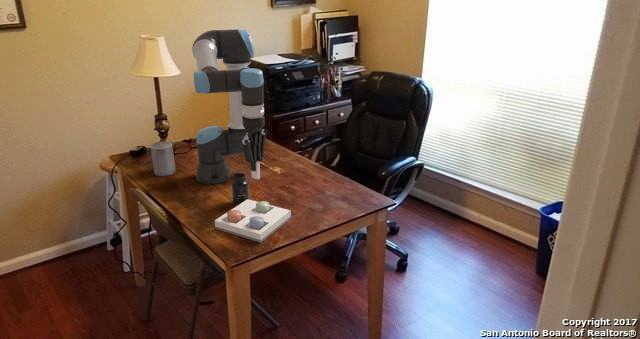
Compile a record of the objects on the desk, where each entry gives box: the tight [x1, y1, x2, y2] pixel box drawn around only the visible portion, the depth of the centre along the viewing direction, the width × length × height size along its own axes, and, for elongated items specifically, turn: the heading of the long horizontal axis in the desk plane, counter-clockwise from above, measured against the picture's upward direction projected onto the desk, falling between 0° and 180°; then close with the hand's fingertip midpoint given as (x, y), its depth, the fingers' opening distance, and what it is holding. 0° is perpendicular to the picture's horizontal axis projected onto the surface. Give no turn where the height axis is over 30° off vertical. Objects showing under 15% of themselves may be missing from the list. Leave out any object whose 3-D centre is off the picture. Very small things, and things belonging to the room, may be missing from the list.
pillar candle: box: [149, 141, 177, 177], centre depth 215 cm, size 10×10×15 cm
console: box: [214, 198, 292, 244], centre depth 173 cm, size 20×20×3 cm
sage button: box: [256, 200, 270, 214], centre depth 177 cm, size 5×5×4 cm
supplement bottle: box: [230, 172, 250, 206], centre depth 188 cm, size 7×7×12 cm
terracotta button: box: [226, 209, 241, 224], centre depth 170 cm, size 5×5×4 cm
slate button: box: [250, 216, 264, 230], centre depth 166 cm, size 5×5×4 cm
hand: (255, 177), depth 168 cm, fingers closed
